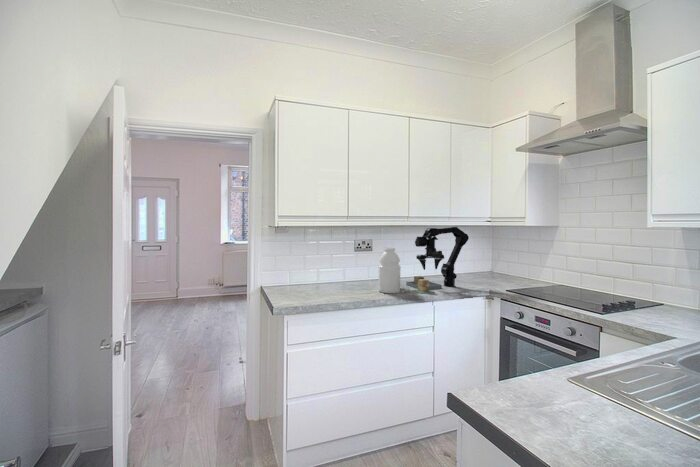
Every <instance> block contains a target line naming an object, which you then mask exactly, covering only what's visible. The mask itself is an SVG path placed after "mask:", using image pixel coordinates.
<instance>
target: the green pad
mask: <svg viewBox="0 0 700 467" xmlns="http://www.w3.org/2000/svg"><path fill="white" fill-rule="evenodd" d="M412 292H414V293H416V294H417V293H418V294H420V295H422V294H435V293H436V292H435V291H433V290H431V289H429V292H420V291H418V289H412Z"/></svg>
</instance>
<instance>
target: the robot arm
mask: <svg viewBox="0 0 700 467" xmlns="http://www.w3.org/2000/svg"><path fill="white" fill-rule="evenodd" d="M444 234H452V236H454V237H455V239H454V240H455V241H454V242H455V244H454V246H453V249H452V251H451V253H450V255H449V258H448V259H447V262H446V263H442V266H441V267H440V272H441V274H442V276H443V278H444V279H443V285H442V286H443V287H447V288H453V287H454V288H457V287H456V286H457V285H456V284H455V282H456V281H455V280H456V279H457V277H458V276H457V274H456V273H455V264H456V261H457V260H458V257H459V255H460V252H461V250H462V248H463V247H464V245H466V244H467V242H468V240H469V239H470V238H469V235H468V233H466V232H464V231H463V230H461V229H460V228H459V227H457V226H451V227H449V226H448V227H441V228H434V227H428V228H425V229H424V233H423V235H422V236H416V238H415V241H414V243H415V244H414V245H415V247H419V248H421V247H422V248H423V247H425V248H424V250H425V254H416V257H415V258H416V260H418V261H419V262H420V264H421V266H422V269H423V270H424V271H425V270H426V262H427V259H434V268H435V270H437V269H438V267H439V264H440V262H441V261H443V260H444V259H445V255H444V254H443V251H442V250H437V248H436V241H438V240H439V238H437V236H439V235H444Z"/></svg>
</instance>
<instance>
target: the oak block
mask: <svg viewBox="0 0 700 467" xmlns="http://www.w3.org/2000/svg"><path fill="white" fill-rule="evenodd" d="M429 281H430V280H429V279H426V278H424V279H419V280H418V289H417V290H418V291H420V292H429V290H430V289H429Z"/></svg>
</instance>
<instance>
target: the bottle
mask: <svg viewBox="0 0 700 467" xmlns="http://www.w3.org/2000/svg"><path fill="white" fill-rule="evenodd" d="M383 250H384V252H383V253H381V255H380V257H379V260H378V261H379V263H380V264H379V265H378V291H379V293H383V294H398V293H400V292H401V266H400V264H399V263H400V262H401V259H400V257H399V254H397V253H396V252H395V251H396V248H395V247H384V249H383Z"/></svg>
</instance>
